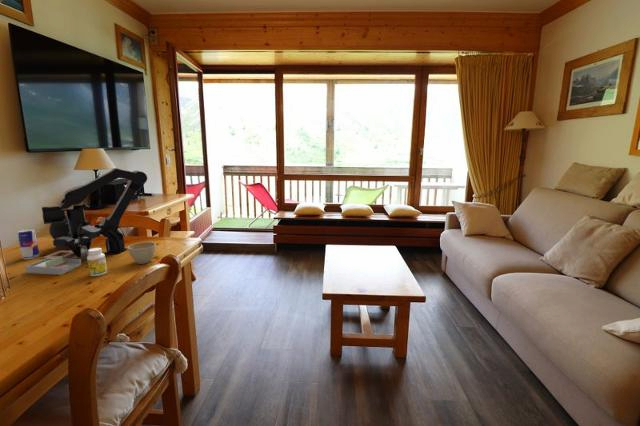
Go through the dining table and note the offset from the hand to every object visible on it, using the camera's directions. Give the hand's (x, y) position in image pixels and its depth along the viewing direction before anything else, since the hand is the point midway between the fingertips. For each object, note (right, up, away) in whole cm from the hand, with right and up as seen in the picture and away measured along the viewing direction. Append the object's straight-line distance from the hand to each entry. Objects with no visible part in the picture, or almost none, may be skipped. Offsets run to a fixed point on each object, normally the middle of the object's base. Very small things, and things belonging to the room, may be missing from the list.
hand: (82, 255), depth 130 cm
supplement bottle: (+18, -5, -15) cm, 24 cm away
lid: (-4, -2, -11) cm, 12 cm away
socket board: (-7, -1, -2) cm, 8 cm away
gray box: (-2, -4, -11) cm, 12 cm away
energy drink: (-22, -1, 0) cm, 22 cm away
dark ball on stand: (-17, +2, +14) cm, 22 cm away
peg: (0, -1, 0) cm, 1 cm away
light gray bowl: (+28, -2, -3) cm, 28 cm away
